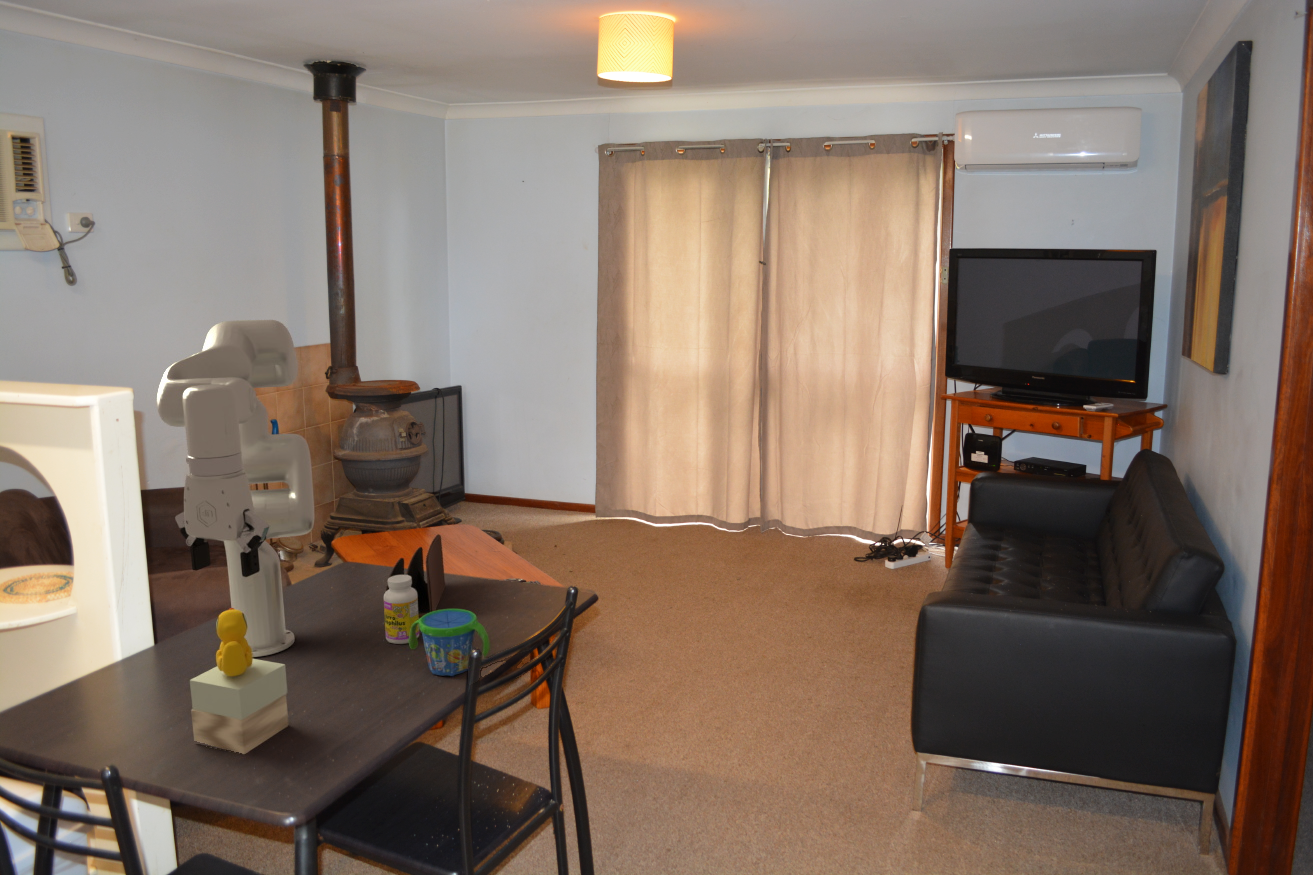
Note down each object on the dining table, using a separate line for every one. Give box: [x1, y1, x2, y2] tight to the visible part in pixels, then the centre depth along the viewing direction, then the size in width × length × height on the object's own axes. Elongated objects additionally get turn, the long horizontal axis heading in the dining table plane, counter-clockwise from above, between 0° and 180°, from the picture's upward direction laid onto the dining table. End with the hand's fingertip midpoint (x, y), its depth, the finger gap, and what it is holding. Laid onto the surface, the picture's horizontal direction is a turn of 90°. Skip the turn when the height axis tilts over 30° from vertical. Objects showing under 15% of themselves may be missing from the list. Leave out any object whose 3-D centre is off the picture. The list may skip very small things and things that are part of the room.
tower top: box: [189, 658, 288, 720], centre depth 156 cm, size 10×10×5 cm
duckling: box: [215, 607, 254, 676], centre depth 155 cm, size 11×5×10 cm, turn 23°
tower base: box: [190, 693, 289, 755], centre depth 157 cm, size 10×10×6 cm
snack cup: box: [408, 608, 491, 677], centre depth 181 cm, size 16×10×10 cm
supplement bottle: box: [383, 574, 420, 645], centre depth 196 cm, size 7×7×13 cm
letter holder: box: [385, 534, 446, 619], centre depth 216 cm, size 10×20×14 cm, turn 5°
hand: (226, 571), depth 153 cm, fingers open, 9 cm apart
